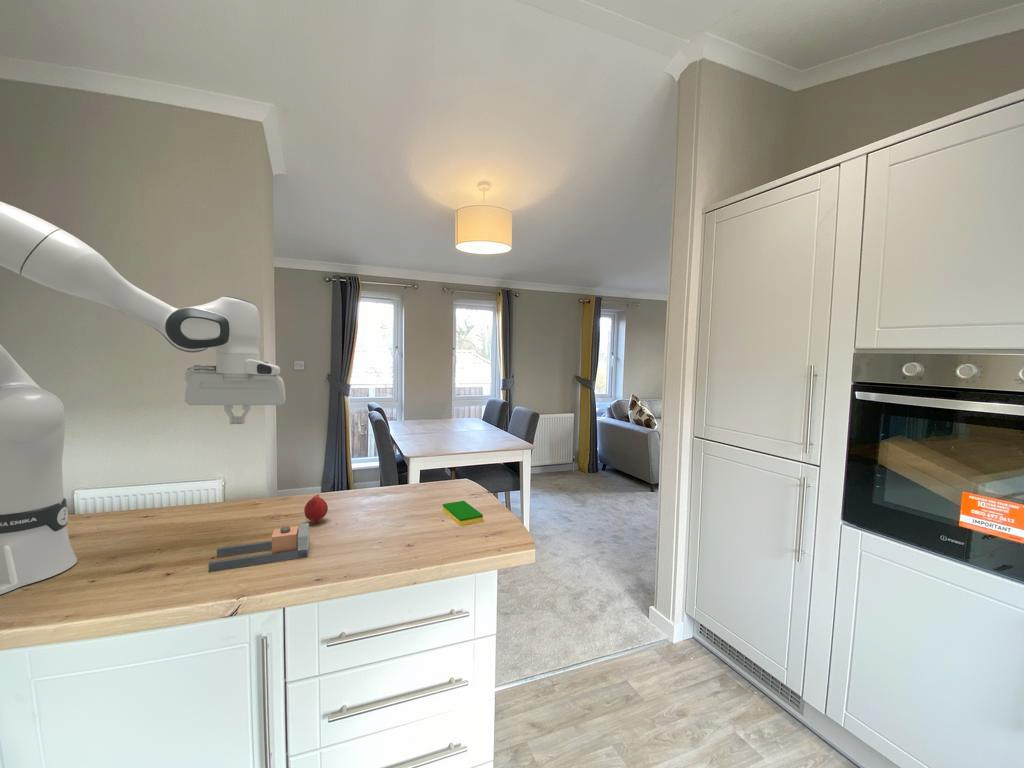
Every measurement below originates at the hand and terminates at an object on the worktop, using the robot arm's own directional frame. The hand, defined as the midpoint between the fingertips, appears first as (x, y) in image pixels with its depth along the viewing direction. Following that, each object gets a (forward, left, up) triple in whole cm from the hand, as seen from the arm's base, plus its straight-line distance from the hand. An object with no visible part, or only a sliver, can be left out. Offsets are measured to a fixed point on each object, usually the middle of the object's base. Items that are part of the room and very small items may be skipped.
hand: (237, 423), depth 102 cm
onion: (+17, +7, -29) cm, 35 cm away
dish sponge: (+56, -2, -30) cm, 63 cm away
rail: (+6, -10, -29) cm, 32 cm away
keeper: (+11, -10, -29) cm, 33 cm away
